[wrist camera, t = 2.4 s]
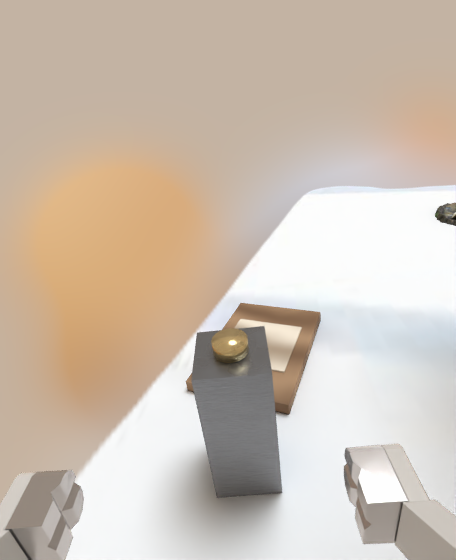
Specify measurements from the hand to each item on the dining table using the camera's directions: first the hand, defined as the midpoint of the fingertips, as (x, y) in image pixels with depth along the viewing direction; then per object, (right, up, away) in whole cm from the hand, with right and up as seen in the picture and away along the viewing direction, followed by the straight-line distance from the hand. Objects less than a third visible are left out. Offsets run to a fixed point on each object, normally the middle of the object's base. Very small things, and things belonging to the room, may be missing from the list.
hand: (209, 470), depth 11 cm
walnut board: (+4, -3, +32) cm, 32 cm away
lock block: (+2, -10, +19) cm, 21 cm away
